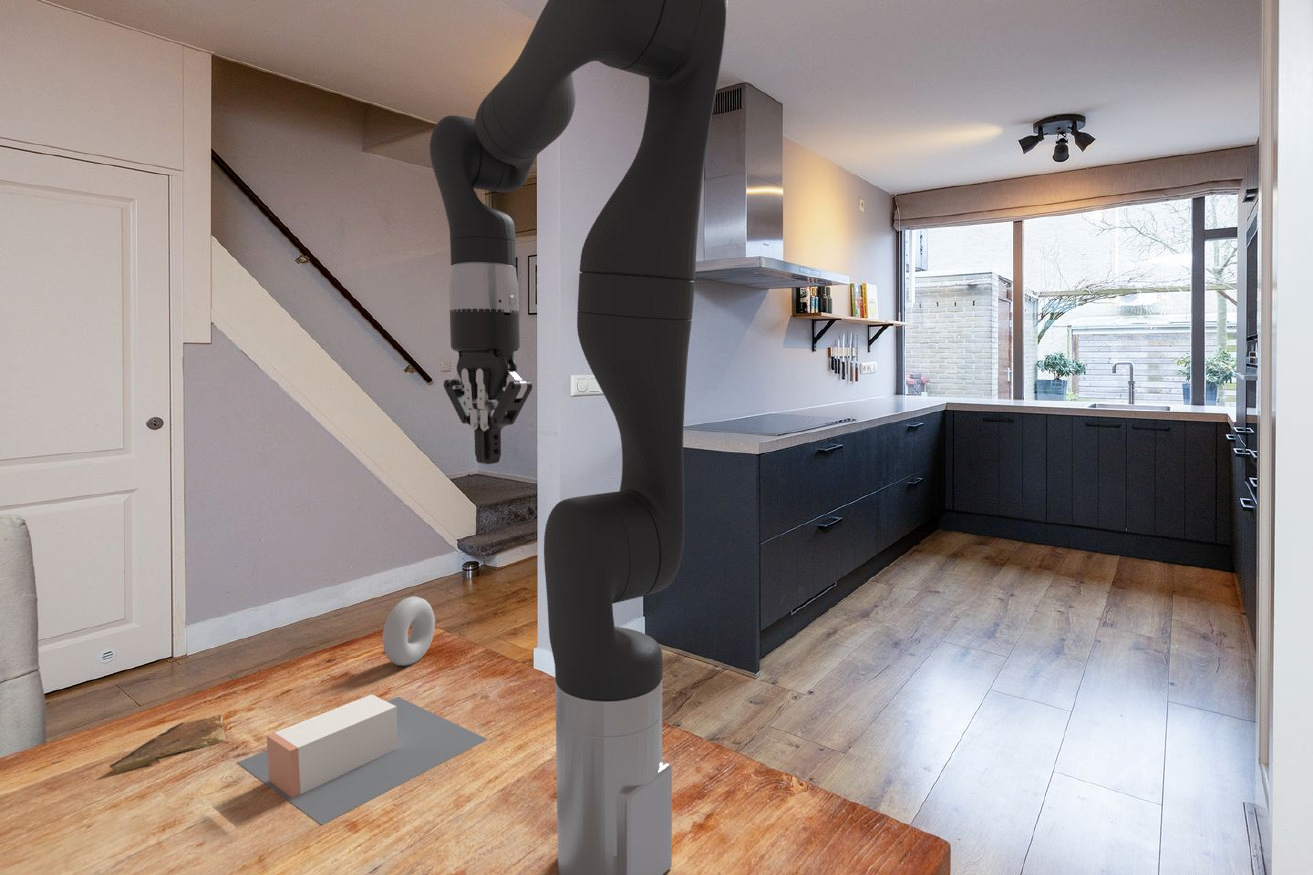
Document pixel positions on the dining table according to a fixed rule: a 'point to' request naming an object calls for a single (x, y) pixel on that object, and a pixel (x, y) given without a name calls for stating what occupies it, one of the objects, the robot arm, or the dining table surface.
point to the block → (331, 744)
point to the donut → (397, 631)
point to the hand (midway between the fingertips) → (488, 462)
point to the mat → (380, 764)
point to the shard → (175, 742)
